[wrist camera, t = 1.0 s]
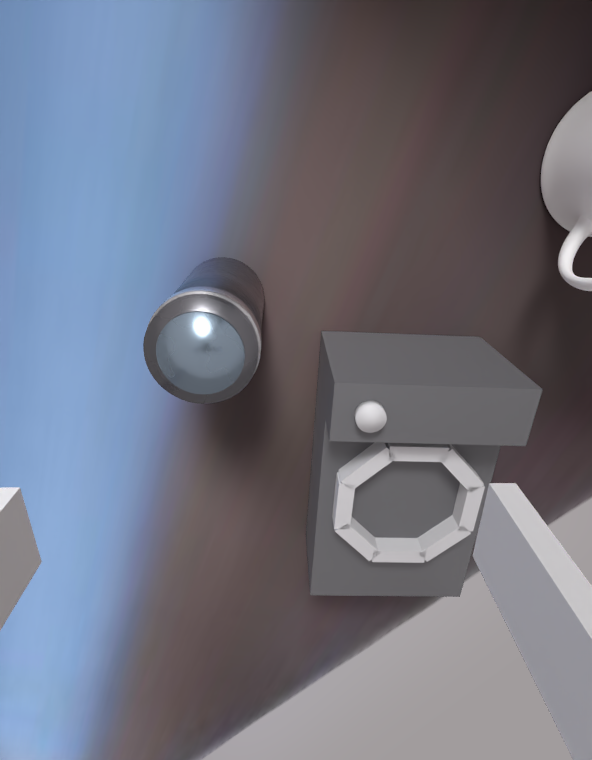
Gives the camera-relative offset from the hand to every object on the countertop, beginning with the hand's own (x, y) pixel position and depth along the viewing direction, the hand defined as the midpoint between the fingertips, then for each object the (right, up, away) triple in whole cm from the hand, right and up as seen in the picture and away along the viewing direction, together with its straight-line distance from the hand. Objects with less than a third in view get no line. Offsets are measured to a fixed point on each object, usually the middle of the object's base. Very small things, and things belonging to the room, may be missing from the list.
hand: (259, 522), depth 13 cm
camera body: (+8, -1, +22) cm, 24 cm away
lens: (-4, +9, +17) cm, 20 cm away
